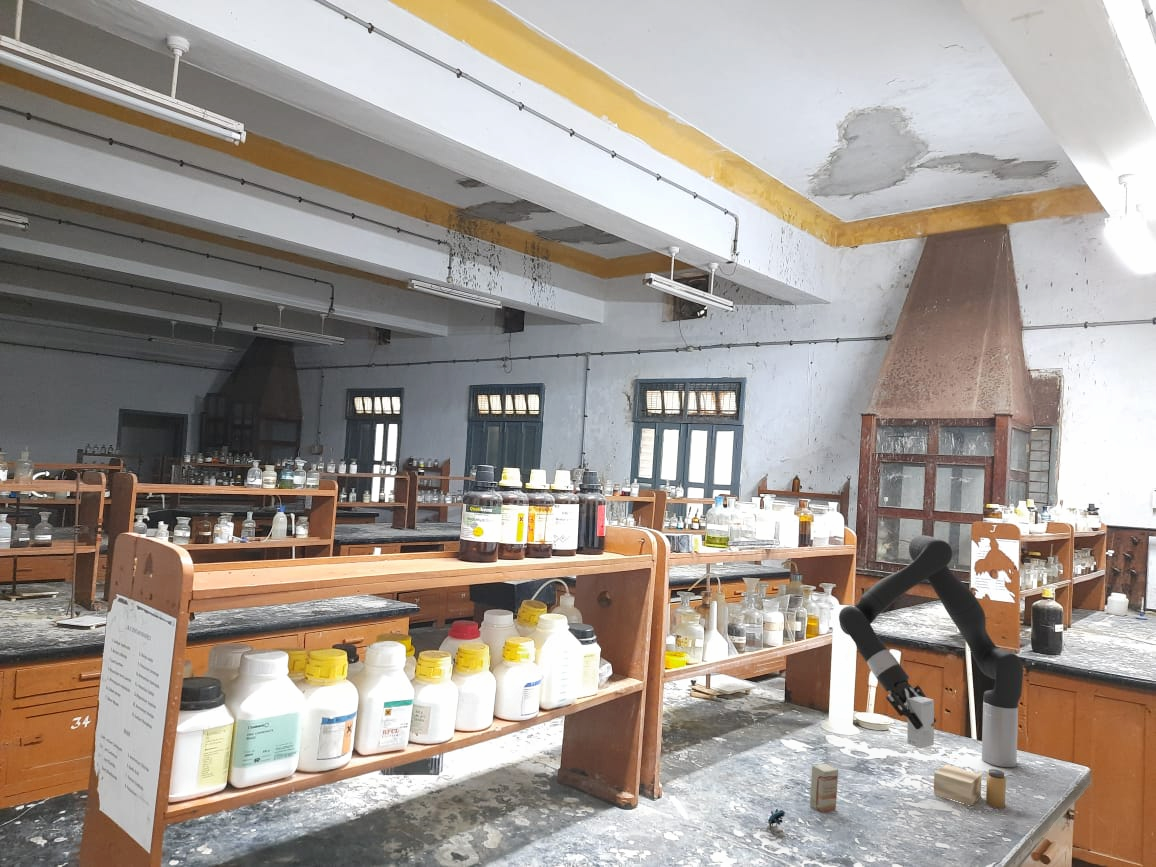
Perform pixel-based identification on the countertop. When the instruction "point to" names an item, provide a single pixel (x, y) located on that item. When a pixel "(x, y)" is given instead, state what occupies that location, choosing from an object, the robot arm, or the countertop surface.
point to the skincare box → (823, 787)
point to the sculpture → (776, 819)
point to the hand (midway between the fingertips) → (926, 725)
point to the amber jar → (996, 788)
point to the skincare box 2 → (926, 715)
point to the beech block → (957, 784)
